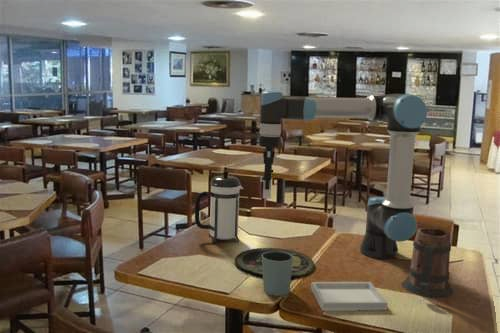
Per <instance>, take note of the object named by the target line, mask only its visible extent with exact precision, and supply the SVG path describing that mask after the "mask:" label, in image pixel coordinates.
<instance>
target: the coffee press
mask: <svg viewBox="0 0 500 333" xmlns="http://www.w3.org/2000/svg"><path fill="white" fill-rule="evenodd" d="M209 184H210V191H203V192H200V193H198V195H197V196H196V198H195V202H194V203H195V204H194V222H195V225H196V226H197V228H199V229H202V230H209V233H208V236H209V237H210V238H211V237H212V243H213V244H217V243H218V241H219V240H233V241H234V242H235V243H239V242H240V239H239V237H238V235H239V211H240V209H239V208H240V195H241V194H240V193H241V192H240V190H244V187H243V186H242V185H241V182H240V180H239V178H238V177H236V176H234V175H229V171H228V170H226V169H225V170H223V172H222V175H216V176H214V177H213V178H211V181H210V183H209ZM207 196H210V215H209V224H203V223H201V222H200V202H201V200H202V198H203V197H207Z"/></svg>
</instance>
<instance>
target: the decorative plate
mask: <svg viewBox="0 0 500 333" xmlns="http://www.w3.org/2000/svg"><path fill="white" fill-rule="evenodd" d="M269 251H283V252H287V253H290V254H291V255H292V256H293V263H292V268H291V270H292V273H291V278H296V279H299V278H304V277H307V276H309V275H310V274H312V272H314V271H315V262H314V261H313V259H312V258H311V257H310V256H308V255H307V254H305V253H302V252H299V251H296V250H292V249H289V248H288V249H287V248H282V247H281V248H279V247H257V248H252V249H245V250H244V251H242V252H239V253H238V254H237V255H236V256H235V259H234V265H235V267H236V269H237V270H239V271H240V270H241V271H240V272H242V271H243V272H242V273H244V272H245V273H244V274H246V273H247V274H246V275H248V274H250V275H249V276H251V275H252V277H254V276H256V277H255V278H259V277H260V279H263V266H262V254H263V253H265V252H269Z"/></svg>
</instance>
